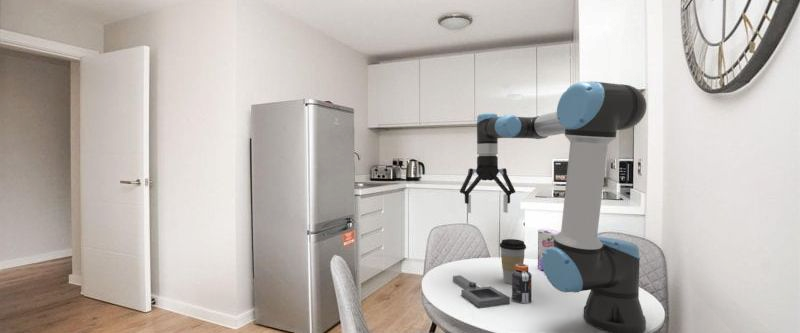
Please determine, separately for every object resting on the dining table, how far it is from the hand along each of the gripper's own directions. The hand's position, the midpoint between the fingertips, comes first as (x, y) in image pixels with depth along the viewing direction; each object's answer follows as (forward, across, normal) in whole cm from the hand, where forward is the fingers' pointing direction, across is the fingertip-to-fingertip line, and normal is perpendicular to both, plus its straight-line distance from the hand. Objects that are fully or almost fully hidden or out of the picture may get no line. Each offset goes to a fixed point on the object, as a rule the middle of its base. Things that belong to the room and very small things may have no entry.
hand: (487, 212), depth 141 cm
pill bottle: (+26, -6, +20) cm, 33 cm away
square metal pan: (+25, +8, +13) cm, 30 cm away
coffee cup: (+26, -9, +2) cm, 27 cm away
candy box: (+26, -29, -8) cm, 40 cm away
